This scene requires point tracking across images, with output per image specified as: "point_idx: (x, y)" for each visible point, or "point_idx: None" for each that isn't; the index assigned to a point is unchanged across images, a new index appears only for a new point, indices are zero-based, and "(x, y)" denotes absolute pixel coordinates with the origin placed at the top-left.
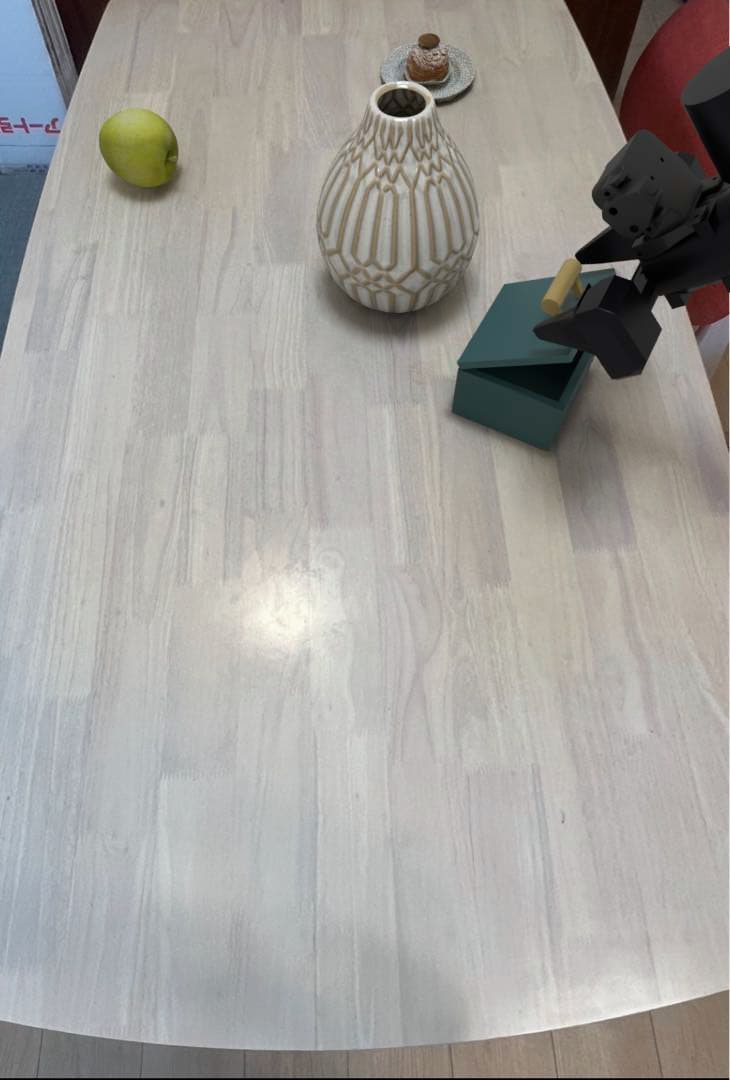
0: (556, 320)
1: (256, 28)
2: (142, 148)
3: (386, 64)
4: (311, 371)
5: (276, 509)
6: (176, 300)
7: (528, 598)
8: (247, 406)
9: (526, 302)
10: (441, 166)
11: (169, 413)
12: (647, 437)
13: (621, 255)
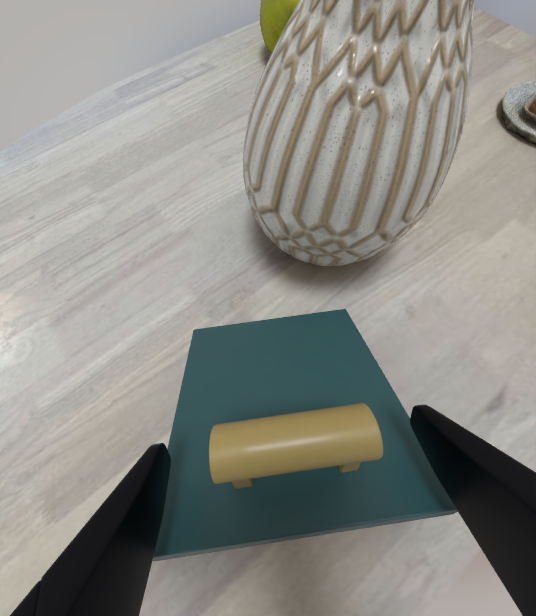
0: (54, 568)
1: None
2: (273, 4)
3: (522, 87)
4: (193, 227)
5: (55, 284)
6: (200, 124)
7: (40, 557)
8: (137, 211)
9: (313, 358)
10: (388, 77)
11: (106, 176)
12: (313, 576)
13: (502, 562)
